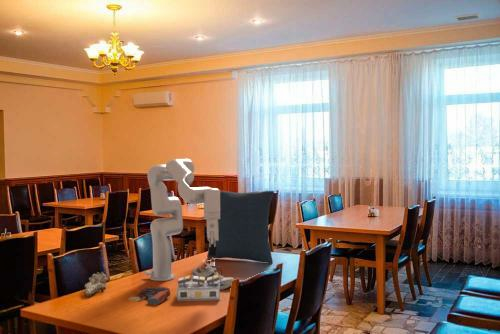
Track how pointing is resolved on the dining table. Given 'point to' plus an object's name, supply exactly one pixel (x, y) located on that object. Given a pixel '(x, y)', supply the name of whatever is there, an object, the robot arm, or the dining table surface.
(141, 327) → the dining table surface
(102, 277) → the skull
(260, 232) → the pillow
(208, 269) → the athletic shoe
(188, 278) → the switch
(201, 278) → the switch
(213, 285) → the switch unit
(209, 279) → the switch
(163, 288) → the toy gun
